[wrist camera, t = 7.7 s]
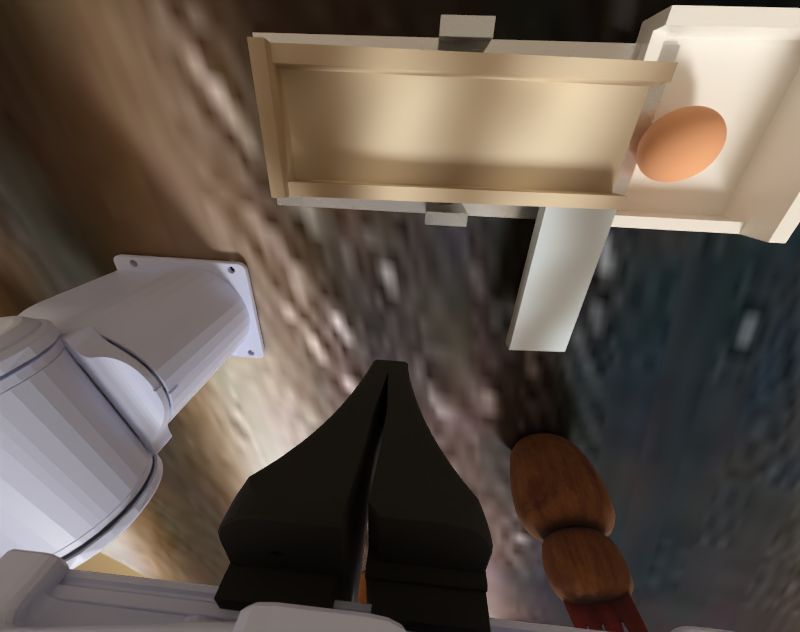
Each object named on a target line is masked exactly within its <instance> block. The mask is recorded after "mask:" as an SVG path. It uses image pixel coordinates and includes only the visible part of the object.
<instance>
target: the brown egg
mask: <svg viewBox="0 0 800 632" xmlns="http://www.w3.org/2000/svg"><path fill="white" fill-rule="evenodd" d="M726 136H727V128H726V123H725V121H724V119H723V118H722V116H721V115H720V114H719V113H718V112H717V111H715V110H713V109H711V108H709V107H705V106H687V107H682V108H679V109H676V110H673V111H671V112H669V113H667V114H665V115H664V116H662V117H661V118H659V119H658V120H657V121H655V122H654V123H653V124H652V125H651V126H650V127H649V128H648V129H647V131H646V132H645V133H644V135H643V136H642V138H641V140H640V142H639V144H638V147H637V152H636V160H637V165H638V167H639V169H640V171H641V172H642V173H643V174H644V175H645V176H646V177H648V178H649V179H652V180H654V181H658V182H677V181H681V180H684V179H687V178H690V177H692V176H694V175H696V174H698V173H700V172H701V171H703V170H704V169H705V168H707V167H708V166H709V165H710V164H711V163H712V162H713V161H714V160H715V159H716V158H717V156H718V155H719V153H720V152H721V150H722V148H723V146H724V144H725V141H726Z"/></svg>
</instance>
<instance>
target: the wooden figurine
mask: <svg viewBox="0 0 800 632" xmlns="http://www.w3.org/2000/svg"><path fill="white" fill-rule="evenodd" d="M510 481H511V491H512V497H513V502H514V506H515V510H516V513H517V515H518V517H519V519H520V521H521V523H522V525H523V526H524V528H525V529H526V530H527V532H529V533H530V534H531V535H532V536H533V537H535V538H536V539H537V540H539V541H541V542H543V544H542V559H543V566H544V570H545V573H546V576H547V579H548V581H549V583H550V585H551V587H552V588H553V590H554V592H555V593H556V594H557V596H558V597H559V598H560V599H561V600H562V601H563V602H564V604H565V606H566V608H567V611H568V613H569V615H570V618H571V620H572V622H573V625H574V627H575V628H581V629H588V628H589V629H590V630H598V631H604V630H603V626H604V627H605V629H606V631H607V632H624V628H623V624H624V625H625V627H626V628H627V630H628V631H629V632H648V631H647V629H646V626H645V624H644V622H643V620H642V618H641V616H640V614H639V612H638V610H637V608H636V606H635V604H634V602H633V600H632V598H631V594H632V592H633V590H634V585H633V580H632V575H631V573H630V570H629V568H628V566H627V563H626V561H625V560H624V558H623V556H622V555H621V553H620V551H619V550H618V548H617V546H616V545H615V544H614V543H613V541H612V540H611V539H610V538H608V537H607V536H608V535H610V534H611V532H612V530H613V528H614V522H615V516H616V515H615V512H614V508H613V504H612V502H611V499H610V497H609V495H608V493H607V491H606V488H605V486H604V484H603V482H602V480H601V478H600V476H599V475H598V473H597V471H596V470H595V468H594V467H593V465H592V464H591V462H590V461H589V460H588V458H587V457H586V456H585V455H584V454H583V453H582V452H581V451H580V450H579V448H578V447H576V446H575V445H573V444H572V443H571V442H569V441H568V440H567V439H565V438H564V437H562V436H558V435H554V434H550V433H538V434H532V435H529V436H526V437H524V438H522V439H521V440H519V441H518V442H517V443H516V445H515V446H514V448H513V449H512V453H511V457H510Z"/></svg>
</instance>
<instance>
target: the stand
mask: <svg viewBox="0 0 800 632" xmlns="http://www.w3.org/2000/svg"><path fill="white" fill-rule="evenodd" d="M495 19H496V16H476V15H441V19H440V29H439V38H429V37H394V36H359V35H325V34H290V33H255V32H252V33H253V37H264V38H265V39H266V40H268V41H269V42H276V43H296V44H317V45H337V46H357V47H377V48H398V49H418V50H438V51H468V52H479V53H499V54H519V55H539V56H560V57H580V58H600V59H620V60H637V58H638V55H639V52H640V49H641V46H642V44H636V43H602V42H567V41H532V40H498V39H492V38H493V33H494V26H495ZM680 46H681V45H671V44H663V46H662V49H661V52H660V55H659V57H658V60H657V61H661V62H675V59H676V56H677V54H678V51H679V48H680ZM665 86H666V83H664V84H659V85H655V86H650V87H649V89H648V92H647V95H646V98H645V101H644V104H643V106H642V109H641V112H640V115H639V118H638V121H637V124H636V126H635V129H634V132H633V135H632V138H631V141H630V143H629V146H628V149H627V152H626V155H625V158H624V161H623V163H622V166H621V169H620V172H619V175H618V178H617V181H616V183H615V186H614V189H613V192H612V193H616V194H620V195H624V196H625V194H626V191H627V188H628V186H629V183H630V180H631V178H632V175H633V172H634V170H635V167H636V164H637V160H636V152H637V147H638V144H639V142H640V140H641V138H642V136H643V135H644V133H645V132H646V131H647V129H648V128H649V127H650V126H651V124H652V121H653V118H654V116H655V113H656V110H657V108H658V105H659V102H660V99H661V97H662V94H663V91H664V89H665ZM277 203H278V205H289V206H307V207H325V208H343V209H361V210H379V211H396V212H414V213H425V224H429V225H446V226H464V227H466V224H467V217H468V216H486V217H504V218H522V219H536V218H537V214H538V210H539V207H537V206H514V205H490V204H466V203H453V204H450V205H447V204H440V203H439V202H418V201H395V200H371V199H347V198H323V197H299V196H289V197H287V198H277ZM617 211H619V210H617Z"/></svg>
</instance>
